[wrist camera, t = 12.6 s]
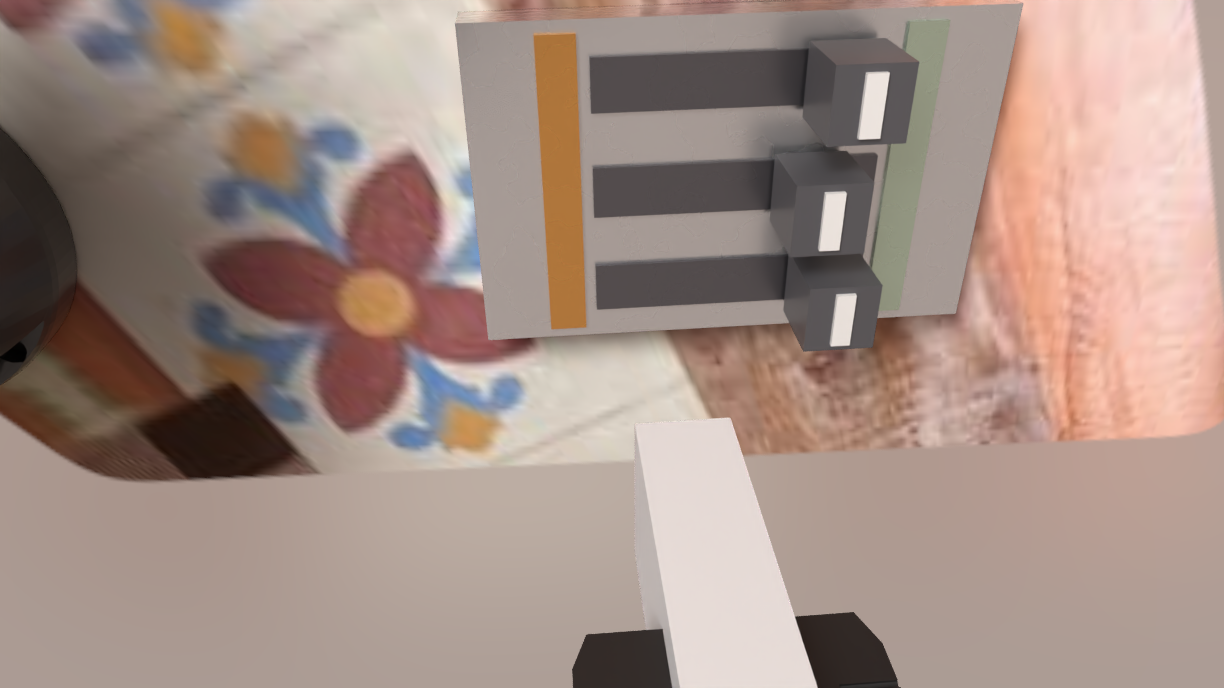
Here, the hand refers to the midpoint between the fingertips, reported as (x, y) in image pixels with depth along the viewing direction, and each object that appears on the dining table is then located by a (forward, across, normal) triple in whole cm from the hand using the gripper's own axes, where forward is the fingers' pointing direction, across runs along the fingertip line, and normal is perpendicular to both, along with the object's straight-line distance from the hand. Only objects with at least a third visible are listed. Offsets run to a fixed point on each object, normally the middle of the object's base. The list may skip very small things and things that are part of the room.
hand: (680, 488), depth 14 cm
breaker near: (+24, +10, 0) cm, 26 cm away
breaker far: (+24, +10, -9) cm, 28 cm away
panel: (+26, +6, -5) cm, 27 cm away
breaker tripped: (+24, +9, -5) cm, 26 cm away
